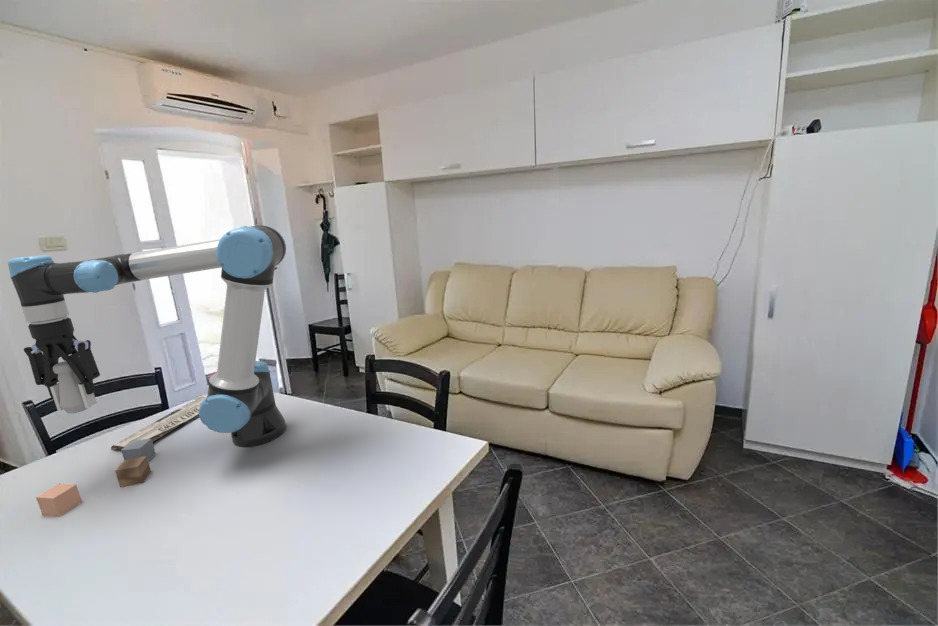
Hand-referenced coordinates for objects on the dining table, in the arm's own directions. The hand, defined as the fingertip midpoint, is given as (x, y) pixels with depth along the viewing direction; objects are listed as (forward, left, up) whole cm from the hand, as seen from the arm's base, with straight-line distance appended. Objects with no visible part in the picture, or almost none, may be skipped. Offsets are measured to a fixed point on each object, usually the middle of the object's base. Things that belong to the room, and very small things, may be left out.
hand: (77, 406), depth 106 cm
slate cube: (-6, -7, -21) cm, 23 cm away
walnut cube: (-11, +3, -21) cm, 24 cm away
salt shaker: (0, 0, -1) cm, 1 cm away
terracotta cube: (0, +12, -21) cm, 24 cm away
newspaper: (-3, -28, -22) cm, 36 cm away
